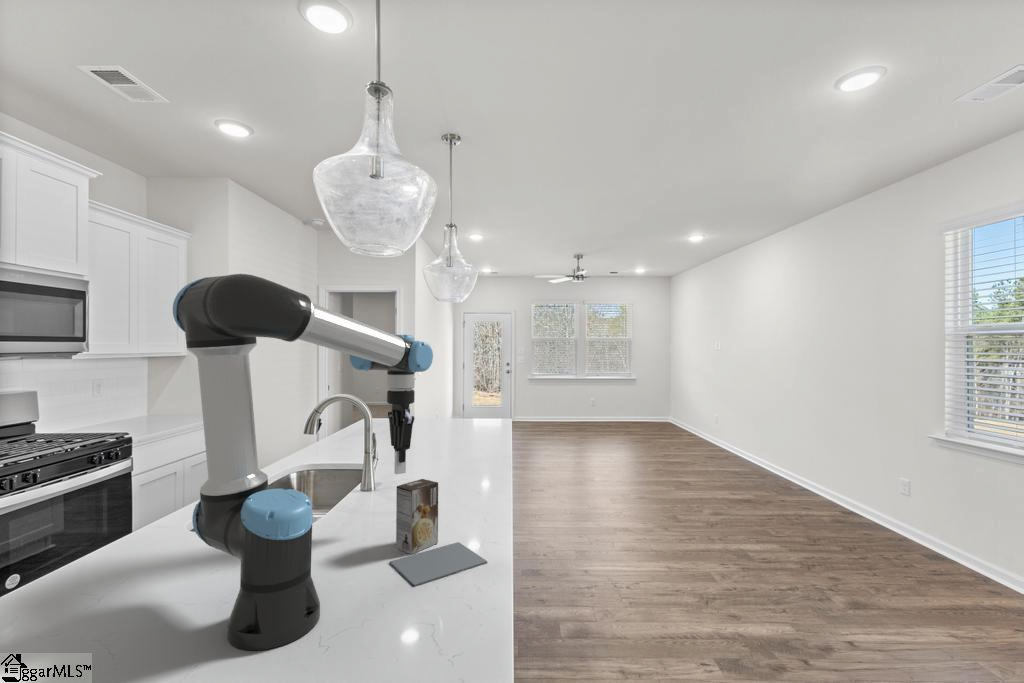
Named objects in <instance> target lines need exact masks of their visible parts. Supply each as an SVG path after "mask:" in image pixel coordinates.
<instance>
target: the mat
mask: <svg viewBox="0 0 1024 683" xmlns="http://www.w3.org/2000/svg"><path fill="white" fill-rule="evenodd" d="M389 564H390V565H391V564H392V565H393V566H392V565H391V566H392V567H393V568H394V569H395V570H396V569H397V570H396V571H397V572H399V574H401V576H403V577H404V578H405V580H406V581H407V582H409V583H410V584H411V585H412V586H413V587H418V586H420V585H421V586H422V585H423V584H427V583H430V582H434V581H437V580H439V579H442V578H445V577H448V576H451V575H455V574H458V573H460V572H465V571H466V570H470V569H473V568H476V567H478V566H483V565H486V564H488V560H486V559H484V558H483V557H482V556H480V555H478V553H475V552H474V551H473V550H471V549H470V548H468V546H465V545H464V544H462V543H461V542H459V541H457V542H454V543H450V544H446V545H443V546H440V547H436V548H432V549H429V550H428V549H427V550H425V551H420V552H417V553H414V554H412V555H411V554H410V555H407V556H404V557H400V558H397V559H393V560H390V561H389Z"/></svg>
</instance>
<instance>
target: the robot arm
mask: <svg viewBox="0 0 1024 683" xmlns="http://www.w3.org/2000/svg"><path fill="white" fill-rule="evenodd" d="M172 315H173V319H174V321H175V323H176V324H177V326H178V327H179V329H181V330H182V332H183V333H185V334H184V335H185V344H186V350H187V351H188V352H190V353H191V354H193V355H194V356H195V357H196V358H197V366H198V378H199V390H200V399H201V401H200V402H201V413H202V420H203V421H202V422H203V431H204V432H203V433H204V434H203V435H204V444H205V456H206V468H207V477H208V478H207V480H206V481H205V482H204V483H203V484H202V485H201V487H200V488H199V495H200V496H199V497H200V498H199V501H198V503H196V504H195V505H194V506H195V507H194V509H193V512H192V516H191V517H192V519H191V520H192V527H193V530H194V532H195V534H196V535H197V536H198V538H199V539H200V540H202V542H204V543H205V544H206V545H208V546H209V547H210V548H214V549H215V550H220V551H222V552H224V553H227V554H228V555H231V556H233V557H235V558H238V559H239V560H240V581H239V583H240V584H239V585H240V587H239V592H238V593H237V596H236V599H235V602H234V604H233V607H232V610H231V613H230V617H229V618H228V621H227V636H226V637H227V640H228V642H229V644H230V645H232V646H233V647H235V648H237V649H239V650H244V651H245V650H246V651H262V650H269V649H272V648H273V649H274V648H278V647H282V646H285V645H287V644H290V643H291V642H295V641H297V640H299V639H300V638H302V637H304V636H306V635H307V634H308V633H309V632H311V630H312V629H314V628H315V627H316V625H317V624H318V622H319V620H320V617H321V602H320V599H319V595H318V592H317V590H316V587H315V583H314V580H313V578H312V547H313V546H312V545H313V544H312V541H313V523H314V514H313V513H314V512H313V504H312V501H311V498H310V497H309V495H307V494H306V493H304V492H302V491H299V490H297V489H293V488H287V489H284V488H270V489H269V478H268V475H267V473H265V472H263V471H262V470H260V468H259V463H258V461H259V460H258V450H257V439H256V427H255V426H256V423H255V412H254V403H253V402H254V400H253V399H254V398H253V388H252V377H251V376H252V375H251V365H250V364H251V363H250V352H251V351H252V350H253V349H254V348H255V347H256V346H257V344H258V343H257V338H271V339H277V340H281V341H284V342H289V343H292V342H296V341H297V340H300V341H304V342H306V343H307V342H308V343H310V344H313V345H316V346H320V347H325V348H327V349H330V350H334V351H338V352H341V353H343V354H347V355H349V362H350V364H351V366H352V368H354V369H355V370H358V371H387V373H386V388H387V389H388V390H387V392H386V403H388V404H389V405H391V411H388V412H387V416H388V422H389V437H390V444H391V446H392V447H393V449H394V471H393V472H394V474H395V475H401V474H406V473H407V469H406V468H407V461H406V460H407V459H406V458H407V451H408V450H409V449H411V441H412V434H413V425H414V422H415V416H414V415H412V416H411V409H410V405H412V404H414V403H415V392H416V391H415V390H414V388H415V381H416V377H415V373H423V372H425V371H427V370H429V369H430V367H432V364H433V361H434V360H433V358H434V353H433V352H434V351H433V349H432V347H431V345H430V344H428V342H425V341H419V340H415V337H414V336H413V335H411V334H392V333H390V332H387V331H386V330H382V329H379V328H377V327H375V326H372V325H371V324H370V325H369V324H367V323H364V322H361V321H359V320H356V319H354V318H352V317H349V316H346V315H344V314H341V313H339V312H336V311H334V310H331V309H329V308H326V307H323V306H320V305H318V304H315V303H313V301H312V299H311V297H310V296H309V295H306V294H304V293H301V292H299V291H297V290H294V289H293V288H289V287H287V286H284V285H282V284H279V283H277V282H275V281H272V280H269V279H266V278H263V277H261V276H257V275H253V274H248V273H234V274H229V275H227V274H226V275H220V276H219V275H217V276H209V277H203V278H199V279H196V280H195V281H192V282H190V283H188V284H186V285H184V286H183V287H182V288H181V289H180V290H179V291H178V293H177V294H176V296H175V298H174V299H173V304H172Z"/></svg>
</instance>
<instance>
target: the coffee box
mask: <svg viewBox="0 0 1024 683" xmlns="http://www.w3.org/2000/svg"><path fill="white" fill-rule="evenodd" d="M395 509H396V510H395V511H396V514H395V515H396V516H395V517H396V519H395V520H396V521H395V522H396V523H395V524H396V525H395V528H396V529H395V530H396V531H395V533H396V534H395V536H396V537H395V547H396V549H397V550H399V551H402V552H404V553H407V554H408V555H409V554H410V555H414V554H418V553H420V552H422V551H424V550H425V549H428V548H430V547H432V546H434V545H436V544H438V543H439V482H438V481H435V480H434V481H433V480H430V479H425V478H420V479H417V480H413V481H411V482H407V483H403V484H400V485H396V508H395Z"/></svg>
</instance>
